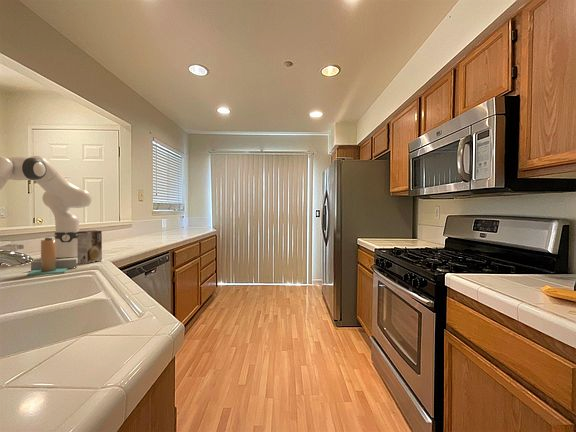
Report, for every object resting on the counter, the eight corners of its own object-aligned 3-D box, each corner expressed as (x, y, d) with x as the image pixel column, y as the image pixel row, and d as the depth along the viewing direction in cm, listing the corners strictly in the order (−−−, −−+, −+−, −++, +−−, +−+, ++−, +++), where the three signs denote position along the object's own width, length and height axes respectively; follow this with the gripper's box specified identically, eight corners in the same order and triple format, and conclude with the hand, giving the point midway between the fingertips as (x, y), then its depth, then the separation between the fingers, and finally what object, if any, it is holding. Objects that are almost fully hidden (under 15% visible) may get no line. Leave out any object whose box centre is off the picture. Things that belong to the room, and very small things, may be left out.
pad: (33, 271, 130) (33, 270, 130) (67, 269, 136) (67, 267, 136) (27, 275, 122) (27, 273, 122) (64, 272, 128) (64, 271, 128)
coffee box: (91, 260, 160) (92, 230, 160) (102, 261, 159) (102, 230, 159) (76, 263, 151) (76, 231, 151) (87, 264, 150) (87, 231, 150)
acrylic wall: (31, 270, 131) (31, 261, 131) (76, 267, 139) (76, 259, 139) (31, 271, 130) (31, 261, 130) (76, 268, 138) (76, 259, 138)
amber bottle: (42, 270, 130) (42, 237, 130) (56, 269, 132) (56, 237, 132) (39, 272, 125) (39, 238, 125) (54, 271, 128) (54, 238, 128)
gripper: (-39, 243, 108) (12, 242, 115) (-16, 239, 126) (27, 238, 133) (-39, 261, 108) (12, 258, 115) (-17, 254, 126) (26, 252, 133)
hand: (20, 247), depth 124 cm, fingers open, 8 cm apart
